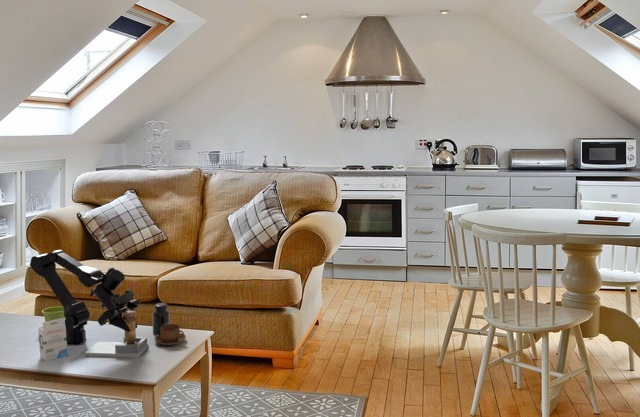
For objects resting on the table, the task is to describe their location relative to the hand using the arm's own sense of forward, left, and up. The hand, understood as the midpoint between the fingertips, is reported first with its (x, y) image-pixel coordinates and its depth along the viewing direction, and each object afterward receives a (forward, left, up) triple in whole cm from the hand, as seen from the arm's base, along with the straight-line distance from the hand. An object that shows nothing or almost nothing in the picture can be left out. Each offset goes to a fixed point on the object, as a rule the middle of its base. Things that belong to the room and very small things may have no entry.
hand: (132, 329), depth 256 cm
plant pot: (-42, +22, -9) cm, 48 cm away
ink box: (-28, -8, -9) cm, 30 cm away
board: (-7, 0, -9) cm, 11 cm away
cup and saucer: (+10, +12, -9) cm, 18 cm away
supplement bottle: (+3, +22, -9) cm, 24 cm away
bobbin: (-1, 0, -7) cm, 7 cm away
